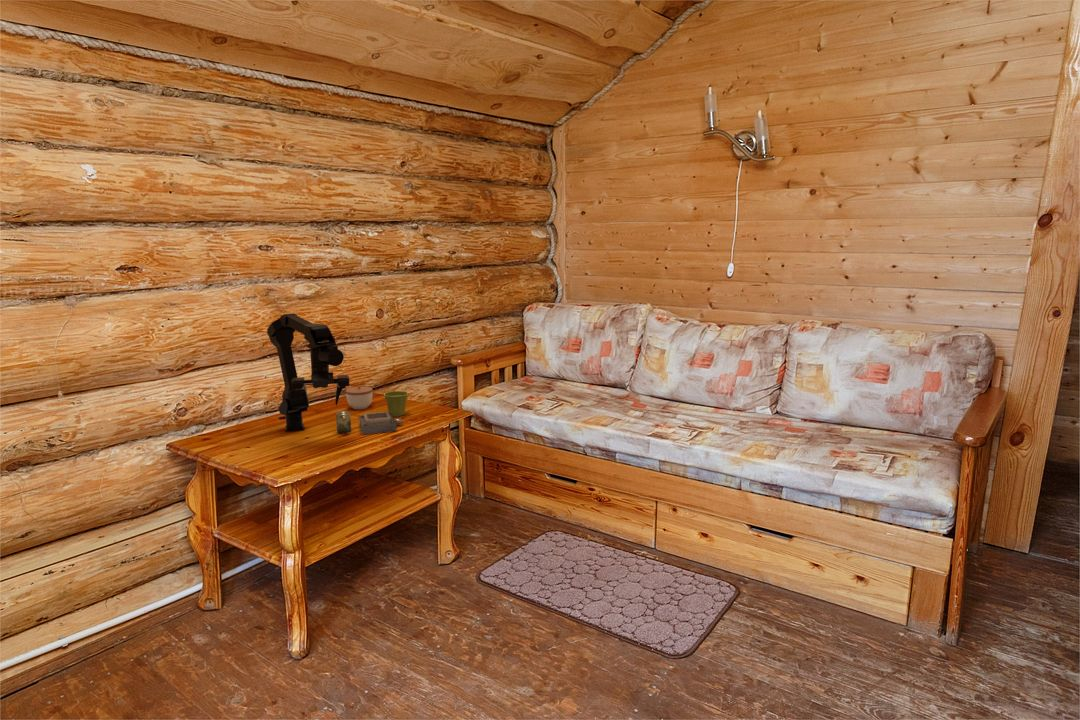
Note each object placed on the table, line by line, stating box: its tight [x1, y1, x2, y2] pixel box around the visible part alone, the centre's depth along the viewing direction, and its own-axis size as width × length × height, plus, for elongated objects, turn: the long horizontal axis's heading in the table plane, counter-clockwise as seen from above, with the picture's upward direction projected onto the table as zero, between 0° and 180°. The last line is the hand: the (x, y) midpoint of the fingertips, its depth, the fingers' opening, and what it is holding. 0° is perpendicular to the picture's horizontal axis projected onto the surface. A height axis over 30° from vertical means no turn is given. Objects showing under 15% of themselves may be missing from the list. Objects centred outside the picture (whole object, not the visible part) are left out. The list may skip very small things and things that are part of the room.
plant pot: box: [383, 390, 409, 418], centre depth 254 cm, size 9×9×9 cm
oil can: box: [335, 410, 352, 435], centre depth 232 cm, size 7×5×8 cm
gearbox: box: [358, 411, 403, 436], centre depth 238 cm, size 14×15×4 cm
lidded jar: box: [345, 384, 374, 410], centre depth 265 cm, size 11×11×9 cm
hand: (322, 406), depth 222 cm, fingers open, 9 cm apart
